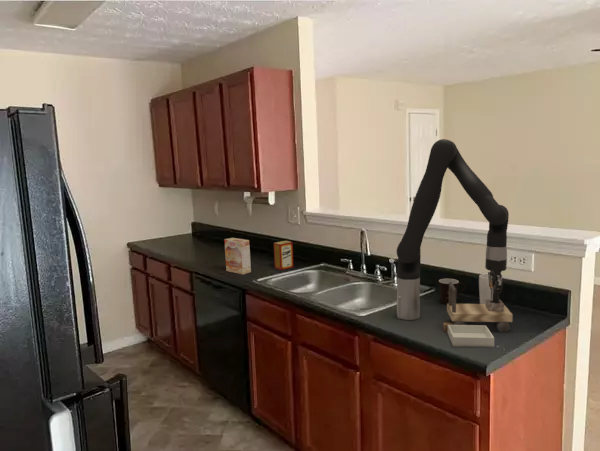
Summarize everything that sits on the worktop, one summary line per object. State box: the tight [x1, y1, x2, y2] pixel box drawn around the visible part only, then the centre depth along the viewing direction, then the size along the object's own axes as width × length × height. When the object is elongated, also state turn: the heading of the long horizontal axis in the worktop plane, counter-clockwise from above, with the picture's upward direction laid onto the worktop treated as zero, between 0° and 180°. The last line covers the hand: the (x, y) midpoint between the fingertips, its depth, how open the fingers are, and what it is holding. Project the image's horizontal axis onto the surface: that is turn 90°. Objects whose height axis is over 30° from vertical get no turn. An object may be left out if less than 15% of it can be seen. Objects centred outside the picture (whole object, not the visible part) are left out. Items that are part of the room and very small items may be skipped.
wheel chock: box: [442, 322, 454, 333], centre depth 186 cm, size 4×3×3 cm
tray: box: [446, 324, 495, 348], centre depth 176 cm, size 14×12×4 cm
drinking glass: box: [478, 273, 491, 304], centre depth 207 cm, size 7×7×15 cm
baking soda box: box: [273, 240, 294, 271], centre depth 291 cm, size 10×6×16 cm
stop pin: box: [490, 282, 498, 303], centre depth 186 cm, size 4×4×10 cm
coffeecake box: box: [223, 237, 252, 275], centre depth 286 cm, size 15×7×20 cm, turn 49°
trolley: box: [446, 282, 514, 334], centre depth 188 cm, size 22×12×17 cm, turn 82°
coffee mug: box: [438, 278, 466, 305], centre depth 217 cm, size 12×9×10 cm
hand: (494, 300), depth 187 cm, fingers closed on stop pin, 2 cm apart
